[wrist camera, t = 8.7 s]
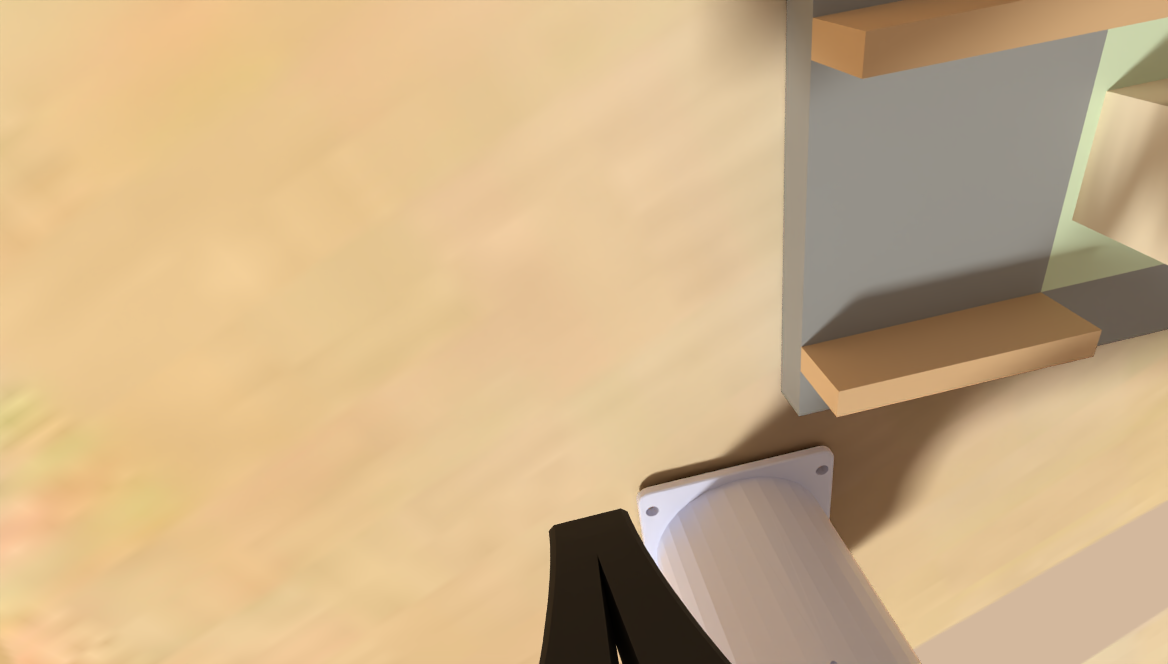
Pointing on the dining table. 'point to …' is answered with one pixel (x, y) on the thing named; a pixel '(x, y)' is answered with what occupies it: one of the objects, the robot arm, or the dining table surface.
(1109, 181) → the birch block
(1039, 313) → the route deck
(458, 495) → the dining table surface
